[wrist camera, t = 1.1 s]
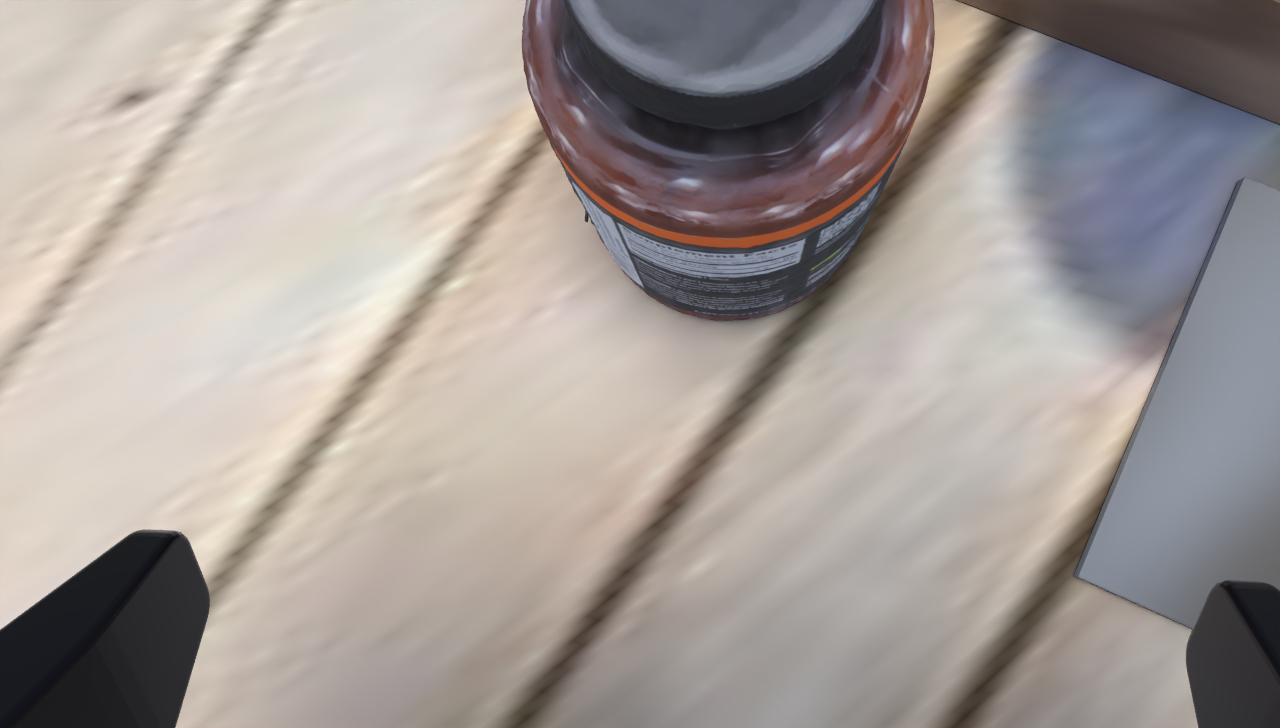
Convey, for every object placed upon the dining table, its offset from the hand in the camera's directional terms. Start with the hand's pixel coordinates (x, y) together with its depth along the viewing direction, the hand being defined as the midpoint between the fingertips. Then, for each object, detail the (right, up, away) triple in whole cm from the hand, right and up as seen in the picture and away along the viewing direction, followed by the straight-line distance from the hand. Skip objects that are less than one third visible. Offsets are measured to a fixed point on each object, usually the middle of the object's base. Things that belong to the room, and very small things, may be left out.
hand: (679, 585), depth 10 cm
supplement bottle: (+2, +6, +14) cm, 16 cm away
